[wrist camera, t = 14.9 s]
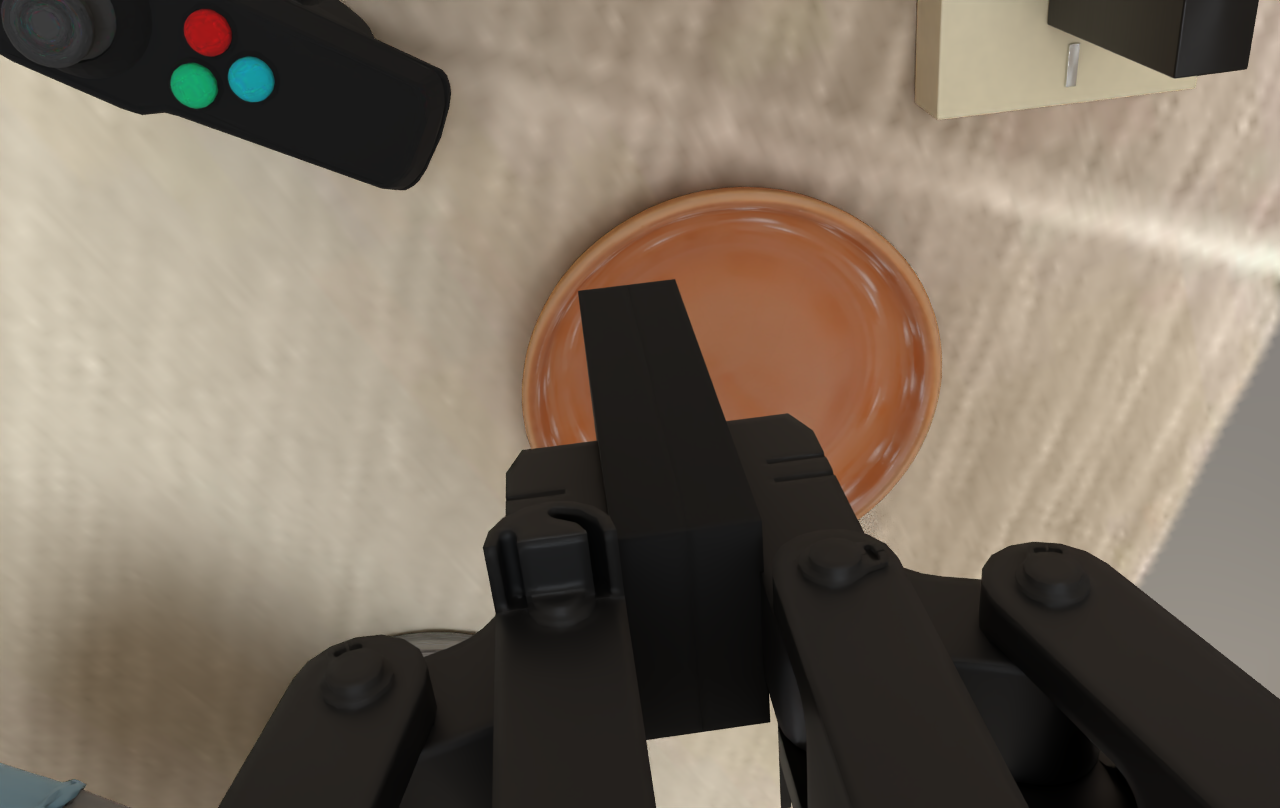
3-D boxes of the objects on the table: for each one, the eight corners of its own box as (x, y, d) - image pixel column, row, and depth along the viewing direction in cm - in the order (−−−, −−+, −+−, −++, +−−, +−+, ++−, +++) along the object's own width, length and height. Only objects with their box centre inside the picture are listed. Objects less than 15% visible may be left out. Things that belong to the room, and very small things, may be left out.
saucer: (445, 411, 43) (439, 450, 40) (688, 79, 38) (700, 100, 35) (750, 582, 49) (762, 626, 46) (1000, 316, 43) (1031, 349, 41)
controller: (90, -139, 33) (-69, -119, 24) (475, 29, 36) (457, 100, 27) (63, -2, 35) (-93, 63, 26) (432, 146, 38) (403, 248, 29)
